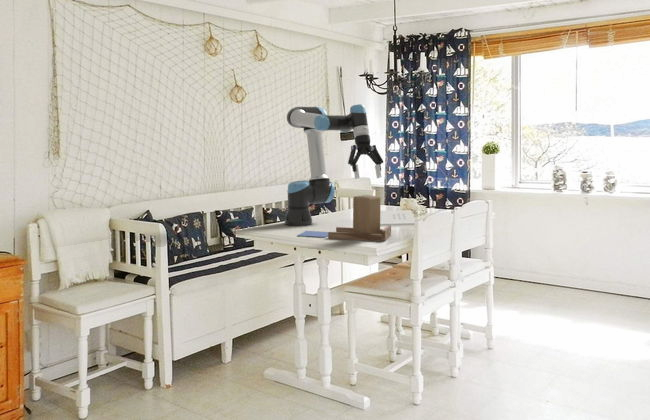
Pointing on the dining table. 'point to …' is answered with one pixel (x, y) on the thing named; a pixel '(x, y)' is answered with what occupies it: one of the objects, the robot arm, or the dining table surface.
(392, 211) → the dining table surface
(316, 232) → the blue square plate
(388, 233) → the frame
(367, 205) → the wooden block
